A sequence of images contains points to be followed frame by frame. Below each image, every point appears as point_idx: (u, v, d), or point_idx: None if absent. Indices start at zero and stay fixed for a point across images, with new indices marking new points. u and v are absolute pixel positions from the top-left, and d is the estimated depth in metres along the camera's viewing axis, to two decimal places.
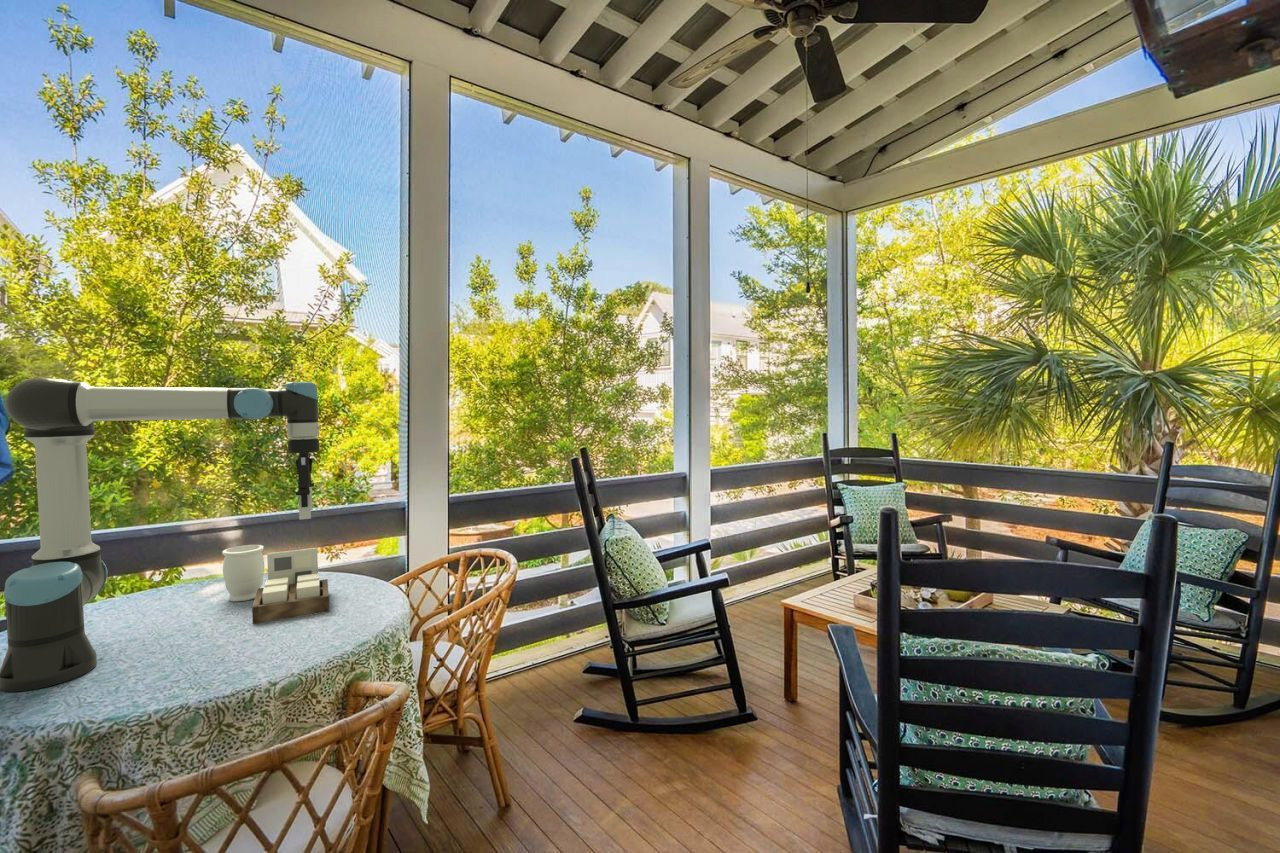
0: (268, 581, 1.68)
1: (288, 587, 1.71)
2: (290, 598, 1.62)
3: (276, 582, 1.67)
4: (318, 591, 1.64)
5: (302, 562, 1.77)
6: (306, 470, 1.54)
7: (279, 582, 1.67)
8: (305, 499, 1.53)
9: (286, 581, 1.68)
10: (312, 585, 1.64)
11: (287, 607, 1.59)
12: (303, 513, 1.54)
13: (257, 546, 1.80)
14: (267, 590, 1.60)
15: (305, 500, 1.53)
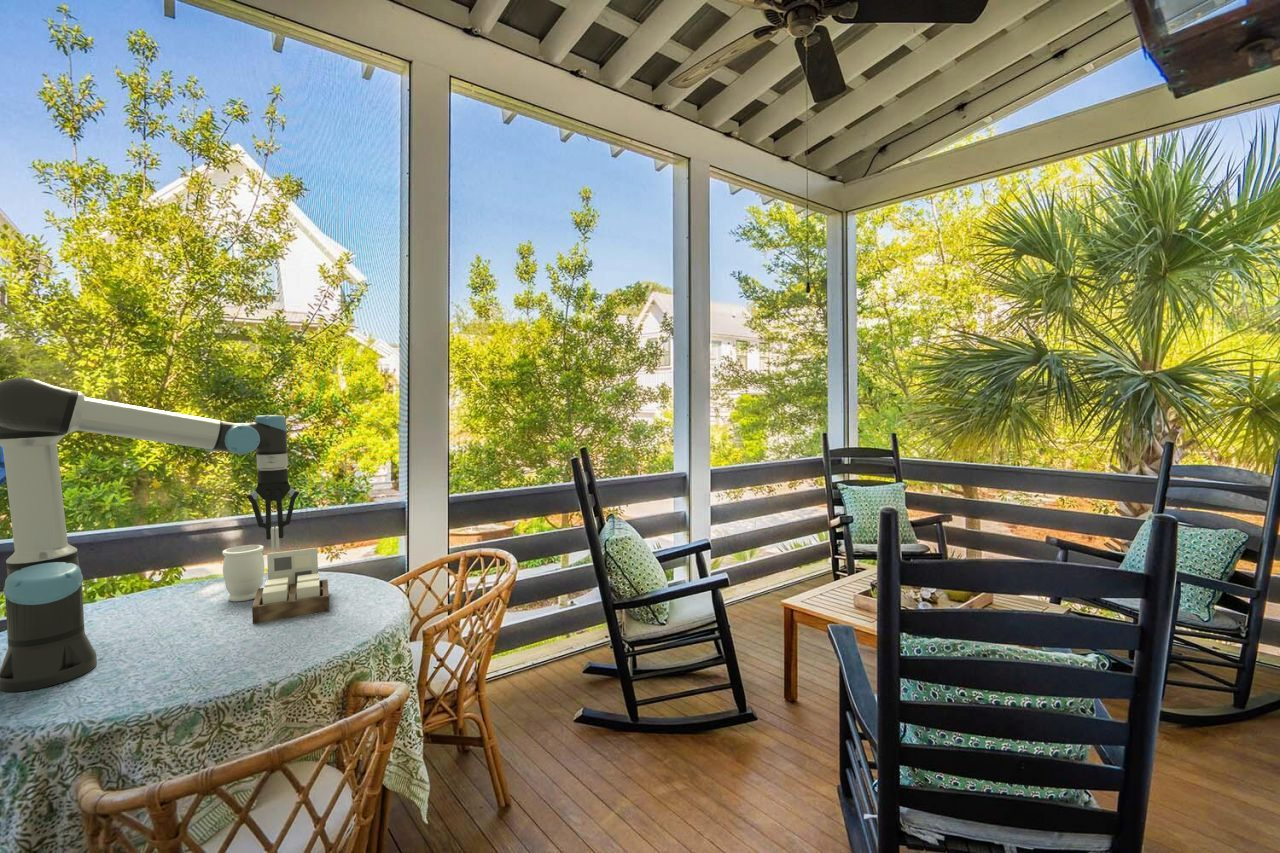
0: (268, 581, 1.68)
1: (288, 587, 1.71)
2: (290, 598, 1.62)
3: (276, 582, 1.67)
4: (318, 591, 1.64)
5: (302, 562, 1.77)
6: None
7: (279, 582, 1.67)
8: None
9: (286, 581, 1.68)
10: (312, 585, 1.64)
11: (287, 607, 1.59)
12: None
13: (257, 546, 1.80)
14: (267, 590, 1.60)
15: None
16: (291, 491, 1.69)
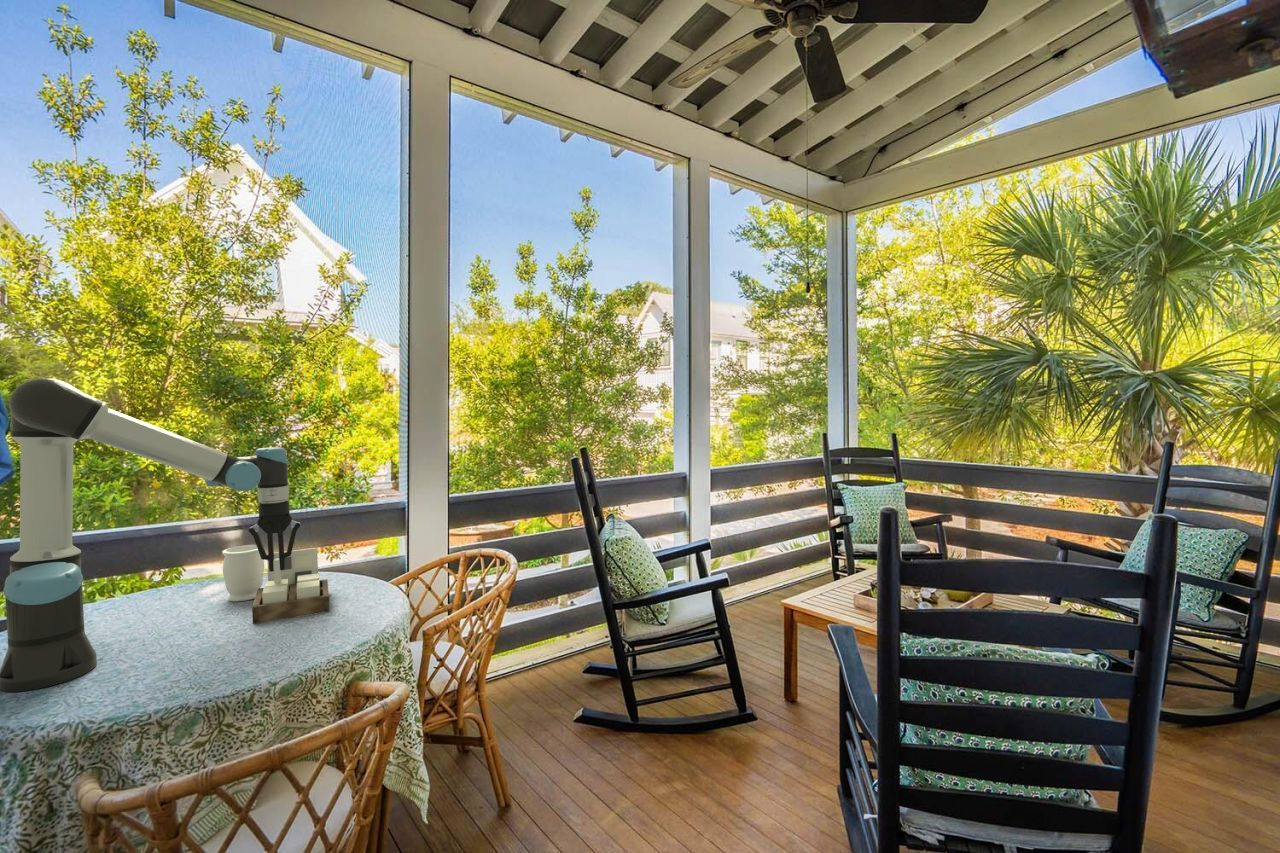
0: (268, 582, 1.68)
1: (288, 588, 1.71)
2: (290, 598, 1.62)
3: (276, 584, 1.67)
4: (318, 591, 1.64)
5: (302, 562, 1.77)
6: None
7: (279, 583, 1.67)
8: None
9: (286, 582, 1.68)
10: (312, 585, 1.64)
11: (287, 607, 1.59)
12: None
13: None
14: (267, 590, 1.60)
15: None
16: (292, 523, 1.69)
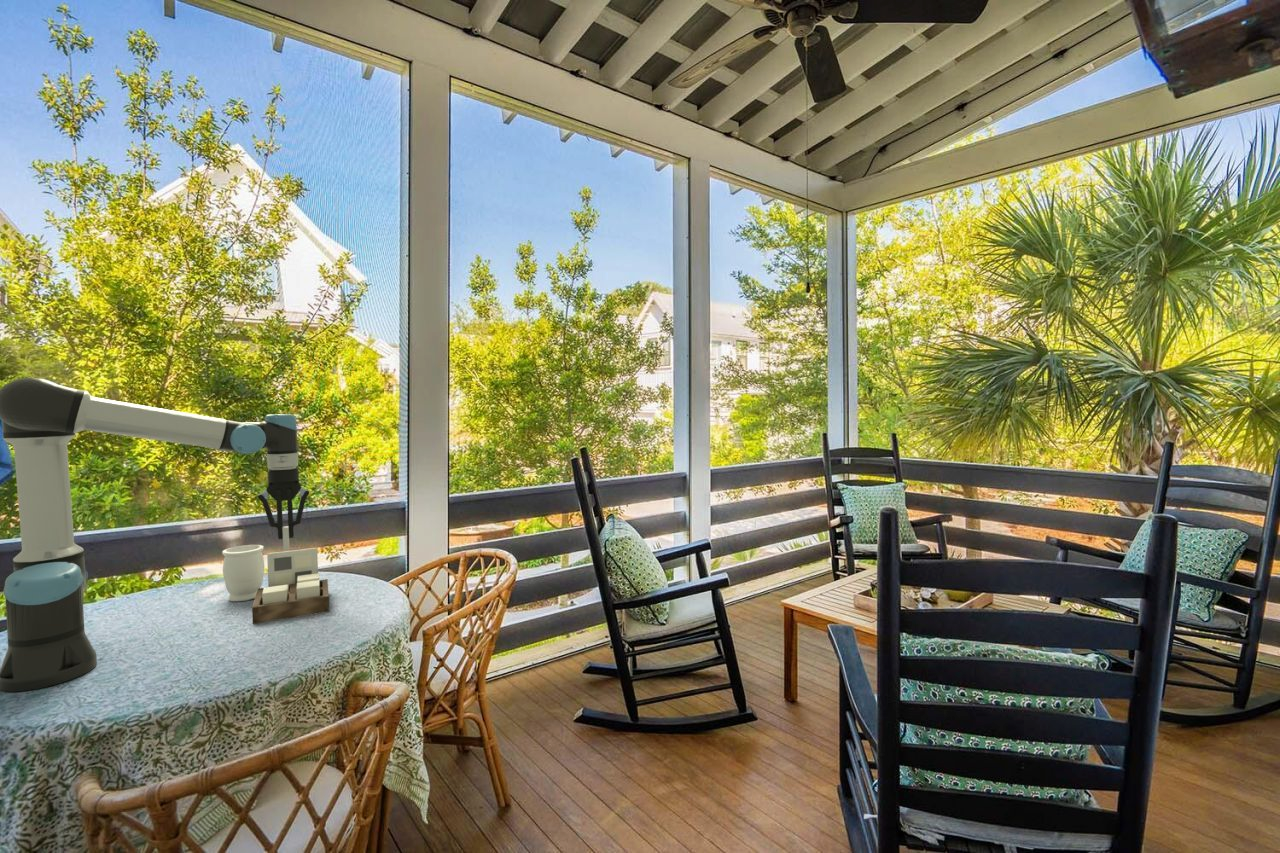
0: None
1: None
2: (290, 598, 1.62)
3: None
4: (318, 591, 1.64)
5: (302, 562, 1.77)
6: None
7: None
8: None
9: None
10: (312, 585, 1.64)
11: (287, 607, 1.59)
12: None
13: (257, 546, 1.80)
14: (267, 590, 1.60)
15: None
16: (302, 490, 1.68)
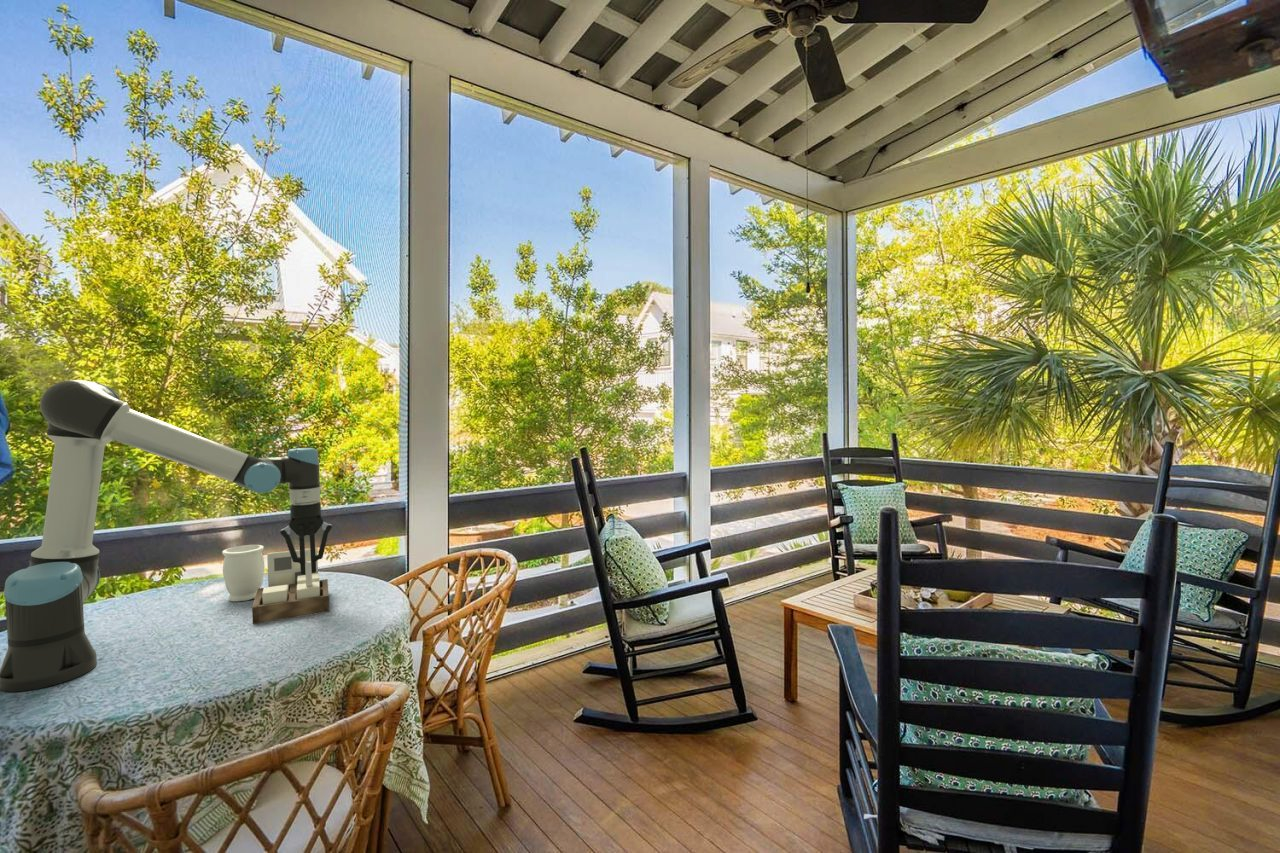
0: None
1: None
2: (290, 598, 1.62)
3: None
4: (318, 592, 1.64)
5: None
6: (286, 542, 1.62)
7: None
8: None
9: None
10: (312, 587, 1.64)
11: (287, 607, 1.59)
12: None
13: (257, 546, 1.80)
14: (267, 590, 1.60)
15: None
16: (324, 525, 1.66)
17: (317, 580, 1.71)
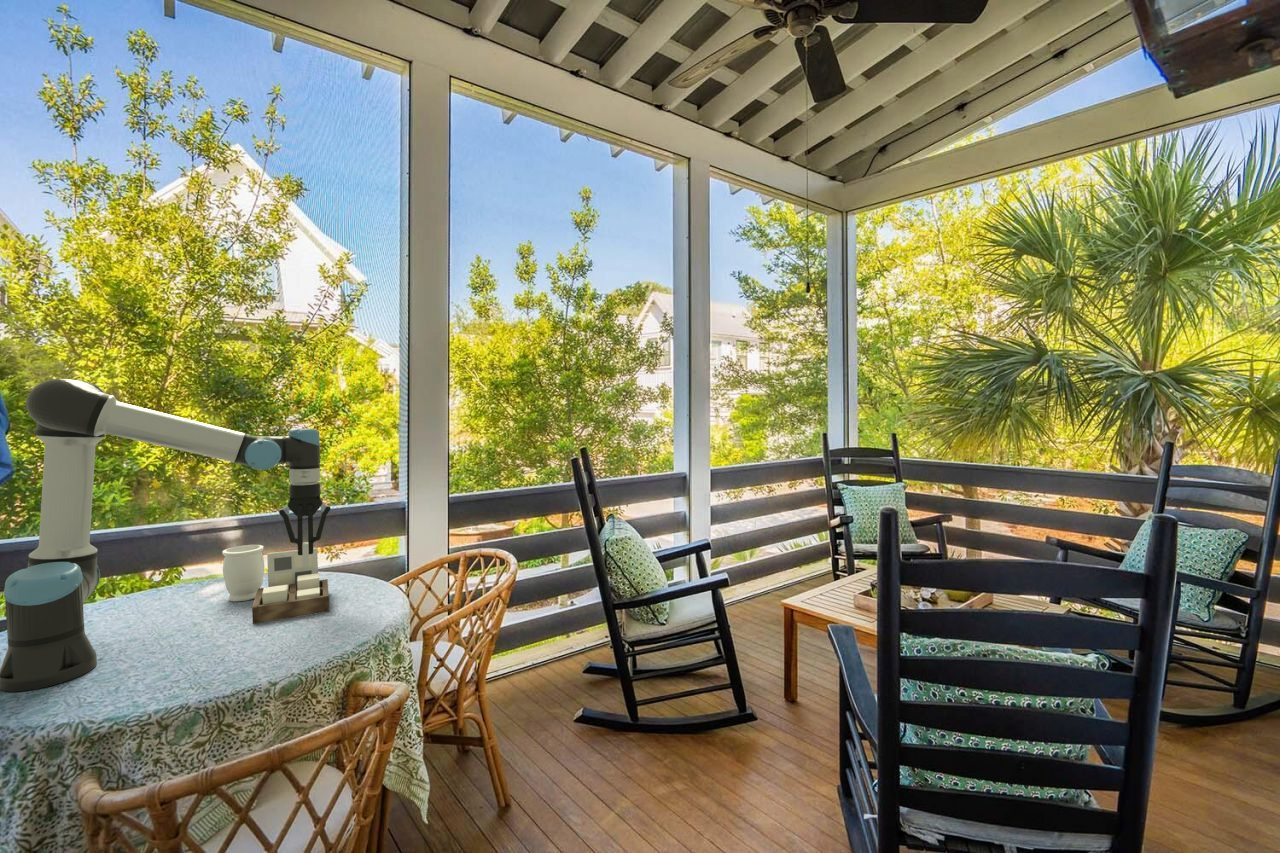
0: None
1: None
2: (290, 598, 1.62)
3: None
4: None
5: (302, 562, 1.77)
6: None
7: None
8: None
9: None
10: (312, 593, 1.64)
11: (287, 607, 1.59)
12: None
13: (257, 546, 1.80)
14: (267, 590, 1.60)
15: None
16: (323, 506, 1.66)
17: (317, 580, 1.71)
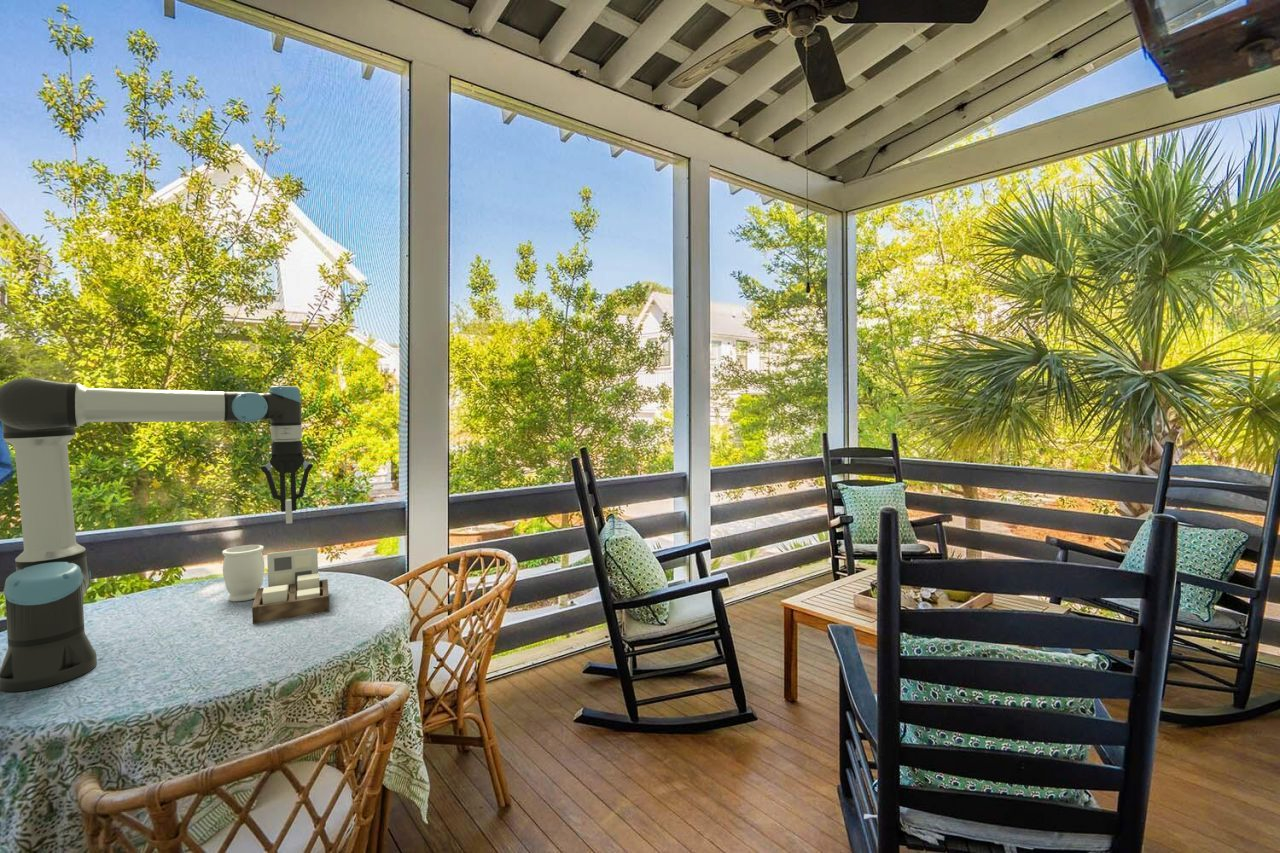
0: None
1: None
2: (290, 598, 1.62)
3: None
4: None
5: (302, 562, 1.77)
6: (267, 478, 1.62)
7: None
8: None
9: None
10: (312, 593, 1.64)
11: (287, 607, 1.59)
12: None
13: (257, 546, 1.80)
14: (267, 590, 1.60)
15: None
16: (305, 463, 1.67)
17: (317, 580, 1.71)
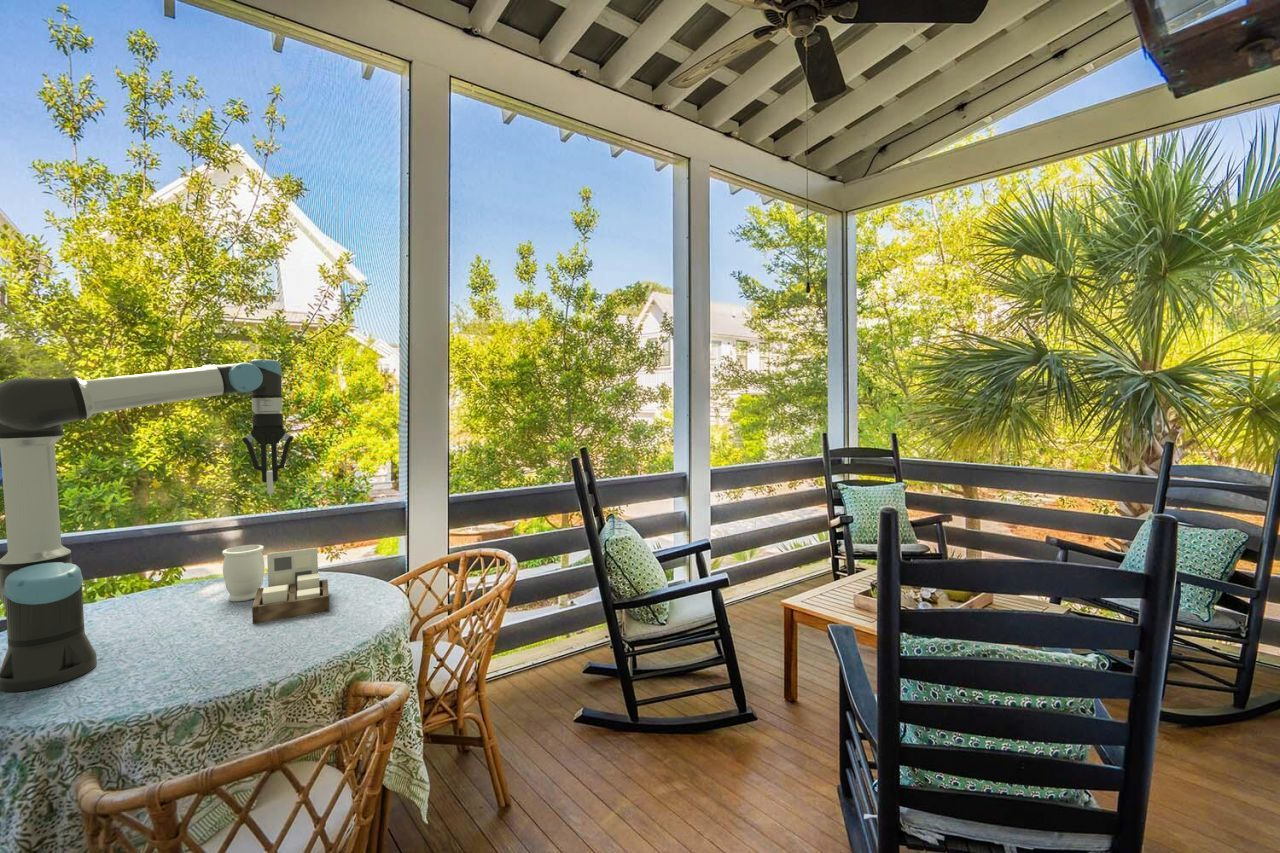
0: None
1: None
2: (290, 598, 1.62)
3: None
4: None
5: (302, 562, 1.77)
6: (248, 449, 1.67)
7: None
8: None
9: None
10: (312, 593, 1.64)
11: (287, 607, 1.59)
12: None
13: (257, 546, 1.80)
14: (267, 590, 1.60)
15: None
16: (286, 436, 1.72)
17: (317, 580, 1.71)
